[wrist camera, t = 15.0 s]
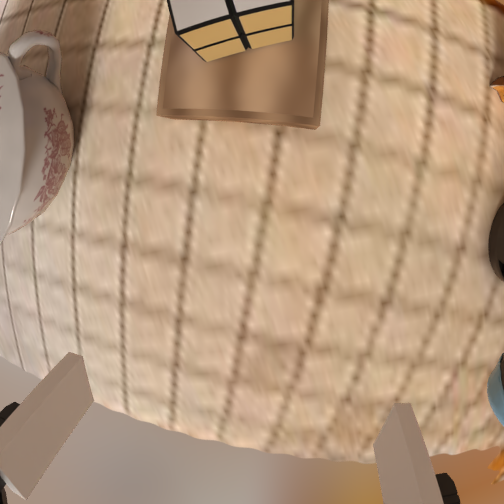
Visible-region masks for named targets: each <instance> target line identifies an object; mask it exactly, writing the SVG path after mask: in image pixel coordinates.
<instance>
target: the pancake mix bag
mask: <svg viewBox="0 0 504 504" xmlns="http://www.w3.org/2000/svg"><path fill="white" fill-rule="evenodd" d="M490 87H492V88H493V89H495V90H496V91H497V92H498V94H499V97H500V99H501V101H502V102H503V103H504V76H503V77H500V78H497V79H496V80H495V81H494V82H493V83H492V84H491V85H490Z"/></svg>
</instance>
